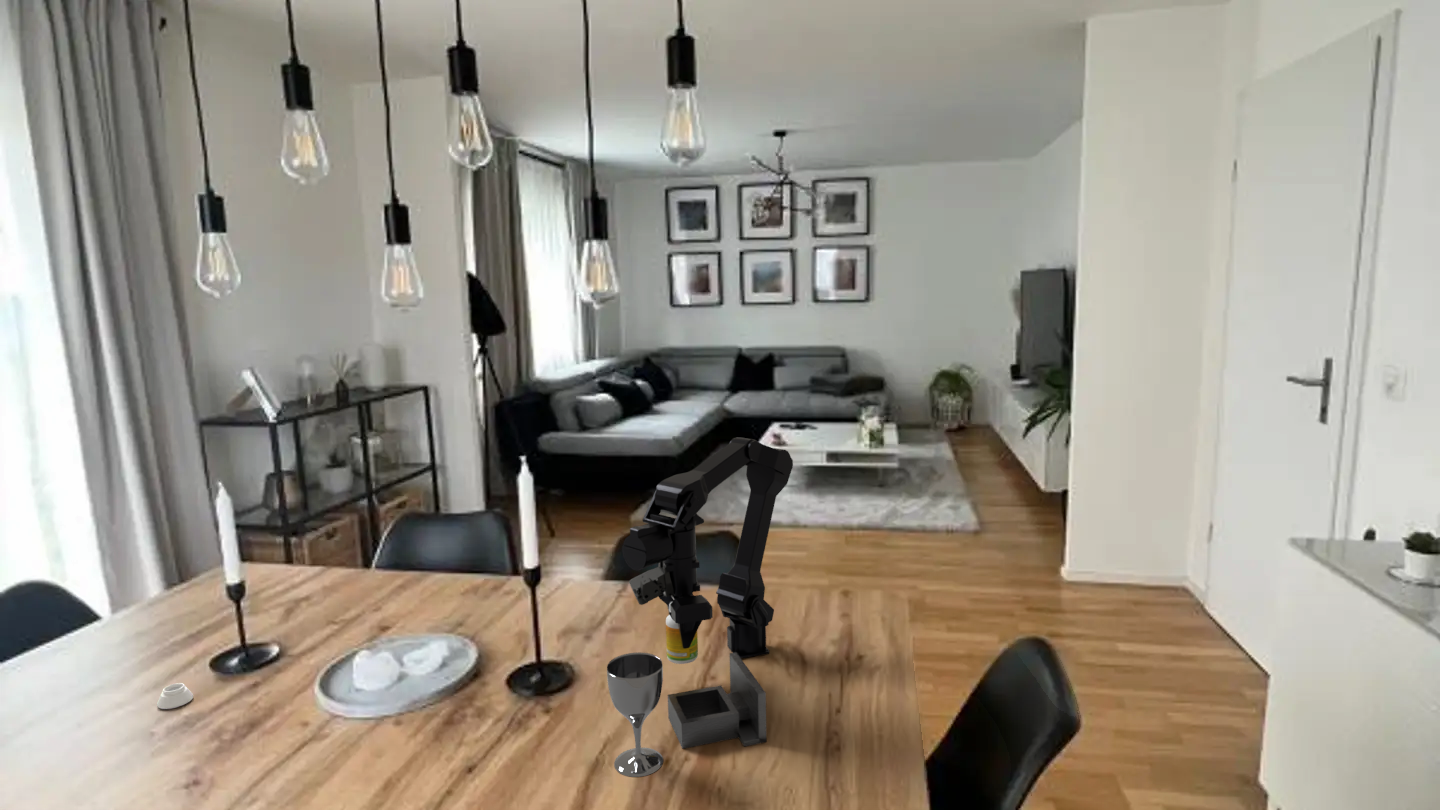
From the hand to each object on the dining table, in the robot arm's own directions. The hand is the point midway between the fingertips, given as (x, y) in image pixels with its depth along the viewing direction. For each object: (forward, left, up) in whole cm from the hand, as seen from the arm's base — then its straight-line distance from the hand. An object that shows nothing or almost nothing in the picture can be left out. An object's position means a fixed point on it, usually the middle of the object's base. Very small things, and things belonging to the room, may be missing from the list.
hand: (682, 640), depth 134 cm
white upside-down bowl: (+84, -24, -9) cm, 88 cm away
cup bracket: (-1, +14, -8) cm, 16 cm away
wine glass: (+12, +20, -8) cm, 24 cm away
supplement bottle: (0, 0, -3) cm, 3 cm away
